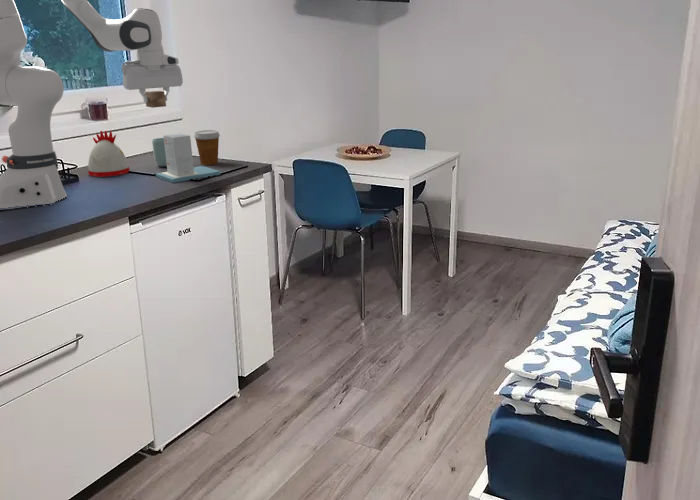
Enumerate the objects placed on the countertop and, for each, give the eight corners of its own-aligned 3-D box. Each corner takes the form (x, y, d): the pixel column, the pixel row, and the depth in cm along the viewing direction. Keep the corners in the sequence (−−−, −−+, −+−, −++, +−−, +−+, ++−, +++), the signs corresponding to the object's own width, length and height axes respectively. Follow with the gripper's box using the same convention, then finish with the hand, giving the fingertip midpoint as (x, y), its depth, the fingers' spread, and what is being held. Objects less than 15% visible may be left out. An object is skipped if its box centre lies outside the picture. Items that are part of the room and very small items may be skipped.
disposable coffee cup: (195, 166, 237) (192, 134, 233) (197, 161, 246) (194, 130, 242) (221, 165, 238) (218, 133, 234) (222, 160, 247) (220, 129, 243)
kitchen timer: (121, 176, 223) (115, 133, 218) (82, 177, 223) (75, 134, 218) (134, 168, 236) (129, 127, 231) (97, 168, 236) (91, 128, 232)
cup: (157, 164, 242) (153, 138, 239) (177, 163, 243) (175, 137, 240) (153, 168, 235) (150, 141, 232) (174, 167, 236) (171, 140, 233)
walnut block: (152, 107, 216) (150, 92, 215) (146, 106, 220) (144, 91, 218) (166, 106, 219) (164, 91, 218) (159, 105, 223) (158, 90, 221)
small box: (194, 173, 219) (190, 135, 215) (177, 176, 215) (173, 137, 211) (183, 169, 225) (179, 132, 221) (167, 172, 221) (162, 135, 217)
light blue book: (172, 182, 212) (172, 178, 211) (156, 176, 221) (155, 172, 221) (220, 174, 223) (220, 170, 222) (202, 169, 232) (202, 165, 232)
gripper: (124, 61, 206) (130, 104, 211) (182, 58, 219) (186, 99, 223) (117, 60, 211) (122, 103, 215) (174, 58, 223) (178, 98, 228)
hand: (155, 101), depth 219 cm, fingers closed on walnut block, 5 cm apart
